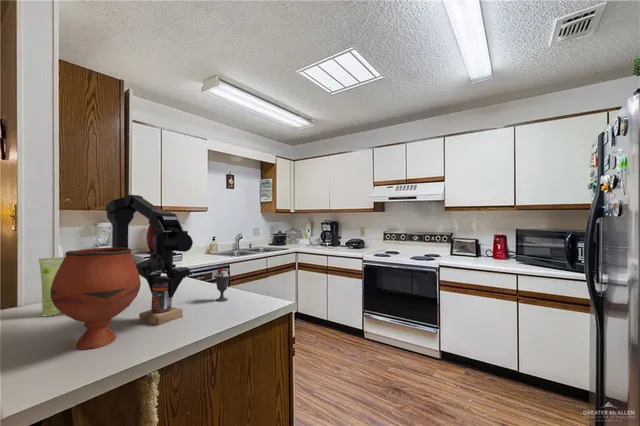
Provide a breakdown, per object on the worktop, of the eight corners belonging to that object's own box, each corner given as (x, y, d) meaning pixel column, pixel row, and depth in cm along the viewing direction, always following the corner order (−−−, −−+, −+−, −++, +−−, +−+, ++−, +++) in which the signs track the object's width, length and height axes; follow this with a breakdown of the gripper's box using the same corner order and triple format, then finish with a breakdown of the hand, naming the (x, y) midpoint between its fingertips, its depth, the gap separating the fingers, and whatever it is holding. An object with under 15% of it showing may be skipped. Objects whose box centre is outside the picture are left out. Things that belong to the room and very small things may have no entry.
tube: (49, 317, 92) (52, 258, 93) (35, 317, 93) (38, 258, 93) (66, 312, 98) (69, 256, 99) (53, 311, 98) (55, 256, 99)
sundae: (210, 301, 114) (211, 264, 114) (218, 297, 121) (219, 262, 121) (225, 302, 113) (226, 265, 113) (232, 298, 119) (233, 263, 120)
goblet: (126, 323, 89) (129, 245, 90) (149, 340, 77) (152, 250, 77) (41, 343, 74) (46, 248, 75) (53, 368, 62) (59, 255, 63)
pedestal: (139, 320, 91) (139, 312, 91) (163, 312, 100) (164, 305, 100) (158, 325, 88) (158, 316, 88) (182, 316, 96) (182, 308, 96)
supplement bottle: (146, 312, 91) (148, 278, 92) (160, 307, 97) (161, 274, 98) (162, 314, 90) (163, 279, 91) (175, 308, 96) (176, 275, 96)
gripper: (121, 250, 90) (119, 298, 90) (162, 254, 83) (160, 306, 83) (153, 247, 101) (151, 291, 100) (191, 250, 94) (190, 297, 93)
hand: (162, 296), depth 94 cm, fingers open, 8 cm apart
